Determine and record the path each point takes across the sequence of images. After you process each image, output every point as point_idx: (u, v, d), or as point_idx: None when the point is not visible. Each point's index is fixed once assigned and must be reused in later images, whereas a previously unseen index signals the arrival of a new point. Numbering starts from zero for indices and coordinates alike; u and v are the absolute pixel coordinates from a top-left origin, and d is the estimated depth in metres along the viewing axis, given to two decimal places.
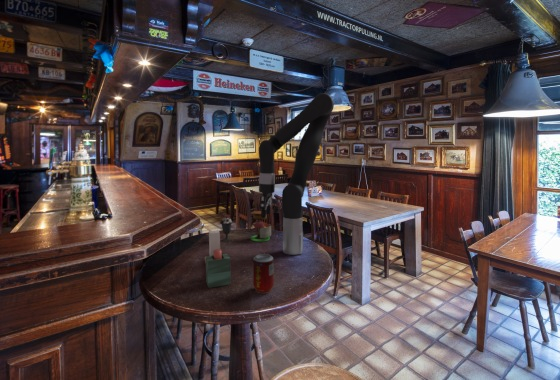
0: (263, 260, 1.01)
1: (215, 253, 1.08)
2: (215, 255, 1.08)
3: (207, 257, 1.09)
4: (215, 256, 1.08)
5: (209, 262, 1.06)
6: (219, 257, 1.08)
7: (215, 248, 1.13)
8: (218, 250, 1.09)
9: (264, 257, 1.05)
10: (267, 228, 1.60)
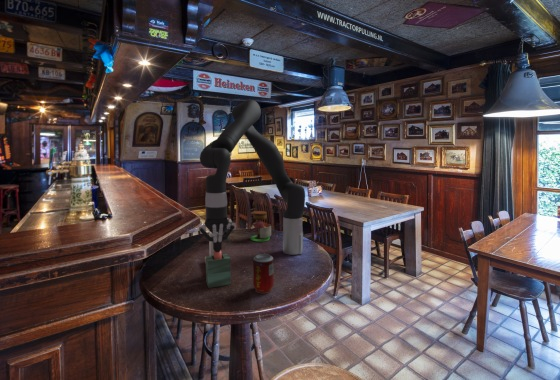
0: (263, 260, 1.01)
1: (215, 254, 1.08)
2: (215, 255, 1.08)
3: (207, 257, 1.09)
4: (215, 257, 1.08)
5: (209, 262, 1.06)
6: (219, 258, 1.08)
7: None
8: None
9: (264, 257, 1.05)
10: (267, 228, 1.60)
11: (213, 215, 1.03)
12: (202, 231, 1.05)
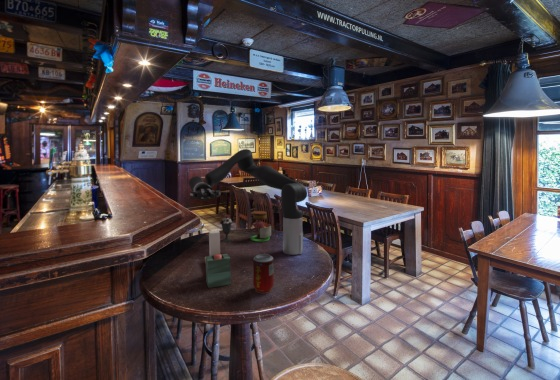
0: (263, 260, 1.01)
1: (215, 258, 1.08)
2: (215, 259, 1.08)
3: (207, 257, 1.09)
4: None
5: (209, 262, 1.06)
6: None
7: (215, 248, 1.13)
8: (218, 255, 1.09)
9: (264, 257, 1.05)
10: (267, 228, 1.60)
11: (199, 184, 1.33)
12: (192, 191, 1.26)
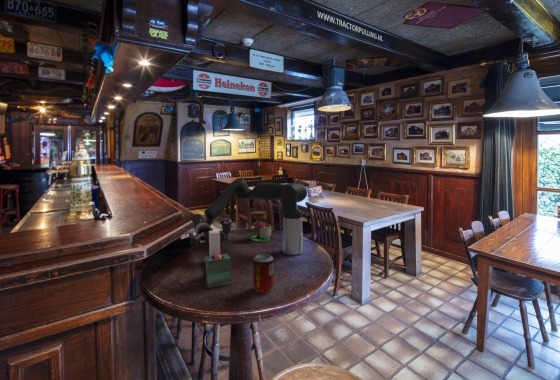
0: (263, 260, 1.01)
1: (215, 258, 1.08)
2: (215, 259, 1.08)
3: (207, 257, 1.09)
4: None
5: (209, 262, 1.06)
6: None
7: (215, 248, 1.13)
8: (218, 255, 1.09)
9: (264, 257, 1.05)
10: (267, 228, 1.60)
11: (201, 227, 1.35)
12: (191, 235, 1.30)
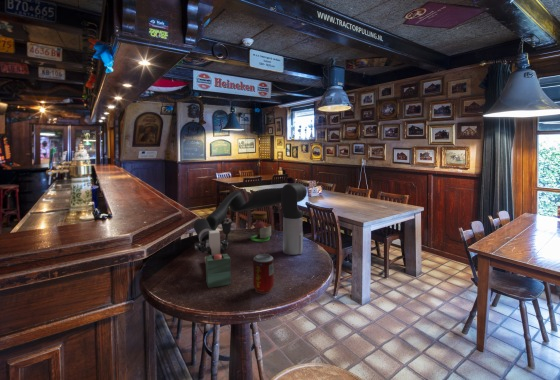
0: (263, 260, 1.01)
1: (215, 258, 1.08)
2: (215, 259, 1.08)
3: (207, 257, 1.09)
4: None
5: (209, 262, 1.06)
6: None
7: (215, 248, 1.13)
8: (218, 255, 1.09)
9: (264, 257, 1.05)
10: (267, 228, 1.60)
11: (205, 233, 1.24)
12: (196, 243, 1.18)
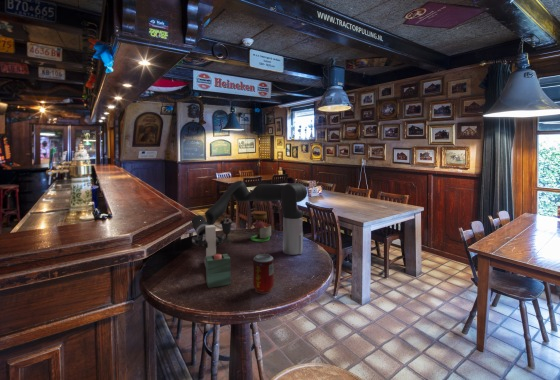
0: (263, 260, 1.01)
1: (215, 258, 1.08)
2: (215, 259, 1.08)
3: (207, 257, 1.09)
4: None
5: (209, 262, 1.06)
6: None
7: (211, 241, 1.21)
8: (218, 255, 1.09)
9: (264, 257, 1.05)
10: (267, 228, 1.60)
11: (202, 228, 1.32)
12: (194, 237, 1.26)
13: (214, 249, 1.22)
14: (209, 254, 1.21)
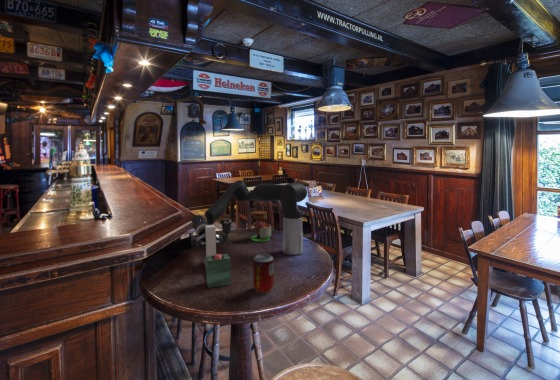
0: (263, 260, 1.01)
1: (215, 258, 1.08)
2: (215, 259, 1.08)
3: (207, 257, 1.09)
4: None
5: (209, 262, 1.06)
6: None
7: (211, 241, 1.21)
8: (218, 255, 1.09)
9: (264, 257, 1.05)
10: (267, 228, 1.60)
11: (202, 228, 1.32)
12: (192, 236, 1.27)
13: (214, 249, 1.22)
14: (209, 254, 1.21)
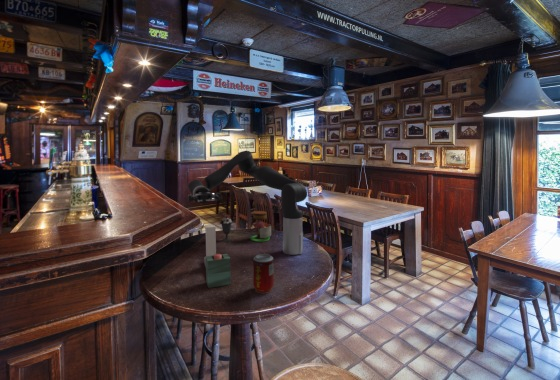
0: (263, 260, 1.01)
1: (215, 258, 1.08)
2: (215, 259, 1.08)
3: (207, 257, 1.09)
4: None
5: (209, 262, 1.06)
6: None
7: (211, 241, 1.21)
8: (218, 255, 1.09)
9: (264, 257, 1.05)
10: (267, 228, 1.60)
11: (198, 188, 1.37)
12: (189, 194, 1.32)
13: (214, 249, 1.22)
14: (209, 254, 1.21)
